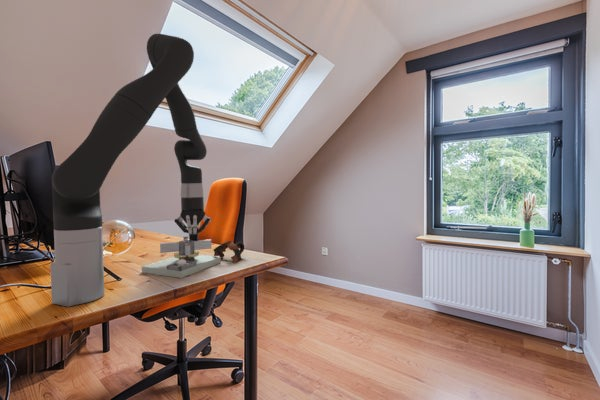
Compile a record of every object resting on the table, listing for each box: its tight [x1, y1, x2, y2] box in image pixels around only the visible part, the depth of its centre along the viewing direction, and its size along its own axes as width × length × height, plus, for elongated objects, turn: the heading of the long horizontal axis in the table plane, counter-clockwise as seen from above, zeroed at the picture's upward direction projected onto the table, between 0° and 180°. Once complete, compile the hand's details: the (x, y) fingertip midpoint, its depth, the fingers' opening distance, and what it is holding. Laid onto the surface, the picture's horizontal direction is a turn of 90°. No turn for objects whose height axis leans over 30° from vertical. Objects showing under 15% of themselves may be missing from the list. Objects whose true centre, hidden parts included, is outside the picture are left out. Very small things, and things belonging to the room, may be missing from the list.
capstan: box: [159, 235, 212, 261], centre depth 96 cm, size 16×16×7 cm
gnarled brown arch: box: [212, 240, 245, 264], centre depth 108 cm, size 12×10×8 cm
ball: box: [177, 259, 186, 266], centre depth 89 cm, size 3×3×3 cm
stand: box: [141, 254, 221, 279], centre depth 96 cm, size 19×16×3 cm
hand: (194, 243), depth 103 cm, fingers closed
